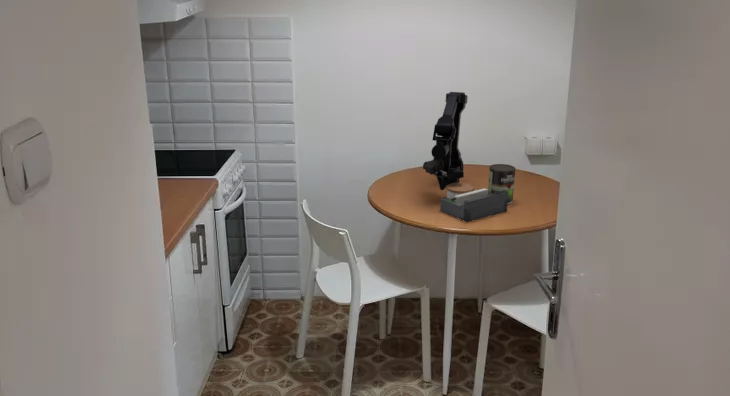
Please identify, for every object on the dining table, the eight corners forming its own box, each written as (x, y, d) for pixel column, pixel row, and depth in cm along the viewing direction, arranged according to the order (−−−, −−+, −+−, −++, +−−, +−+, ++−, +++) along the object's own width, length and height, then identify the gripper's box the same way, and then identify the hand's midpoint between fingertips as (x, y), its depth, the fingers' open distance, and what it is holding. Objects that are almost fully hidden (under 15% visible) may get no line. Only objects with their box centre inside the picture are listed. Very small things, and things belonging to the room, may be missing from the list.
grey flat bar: (483, 202, 281) (484, 188, 279) (487, 204, 279) (488, 189, 277) (449, 211, 271) (450, 196, 269) (452, 213, 269) (453, 198, 267)
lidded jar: (461, 199, 288) (462, 177, 285) (478, 206, 279) (479, 184, 276) (440, 203, 282) (441, 181, 279) (457, 211, 274) (458, 188, 271)
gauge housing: (479, 200, 286) (480, 181, 283) (506, 211, 274) (508, 191, 272) (440, 210, 274) (440, 191, 272) (466, 222, 263) (467, 202, 260)
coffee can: (518, 202, 284) (521, 169, 279) (497, 206, 279) (500, 172, 274) (502, 195, 292) (504, 162, 288) (481, 199, 288) (483, 165, 283)
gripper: (413, 150, 285) (412, 187, 290) (444, 161, 271) (442, 200, 276) (434, 146, 291) (433, 182, 296) (465, 156, 277) (463, 194, 282)
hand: (442, 189), depth 287 cm, fingers closed
